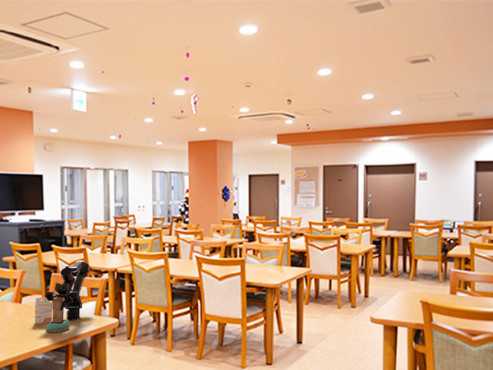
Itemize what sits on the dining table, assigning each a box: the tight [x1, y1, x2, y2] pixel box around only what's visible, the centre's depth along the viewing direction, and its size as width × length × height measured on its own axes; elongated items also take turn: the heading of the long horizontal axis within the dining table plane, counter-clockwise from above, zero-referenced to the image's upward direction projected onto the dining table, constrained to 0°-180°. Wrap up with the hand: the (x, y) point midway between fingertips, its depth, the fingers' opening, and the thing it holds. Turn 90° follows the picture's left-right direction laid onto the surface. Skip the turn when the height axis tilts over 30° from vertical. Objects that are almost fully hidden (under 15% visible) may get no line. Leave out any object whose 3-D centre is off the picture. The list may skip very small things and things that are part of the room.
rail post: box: [52, 297, 65, 322], centre depth 234 cm, size 4×4×13 cm
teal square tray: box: [45, 319, 70, 334], centre depth 233 cm, size 12×12×4 cm
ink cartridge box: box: [34, 297, 53, 324], centre depth 248 cm, size 9×5×15 cm, turn 105°
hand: (57, 310), depth 232 cm, fingers closed on rail post, 4 cm apart
